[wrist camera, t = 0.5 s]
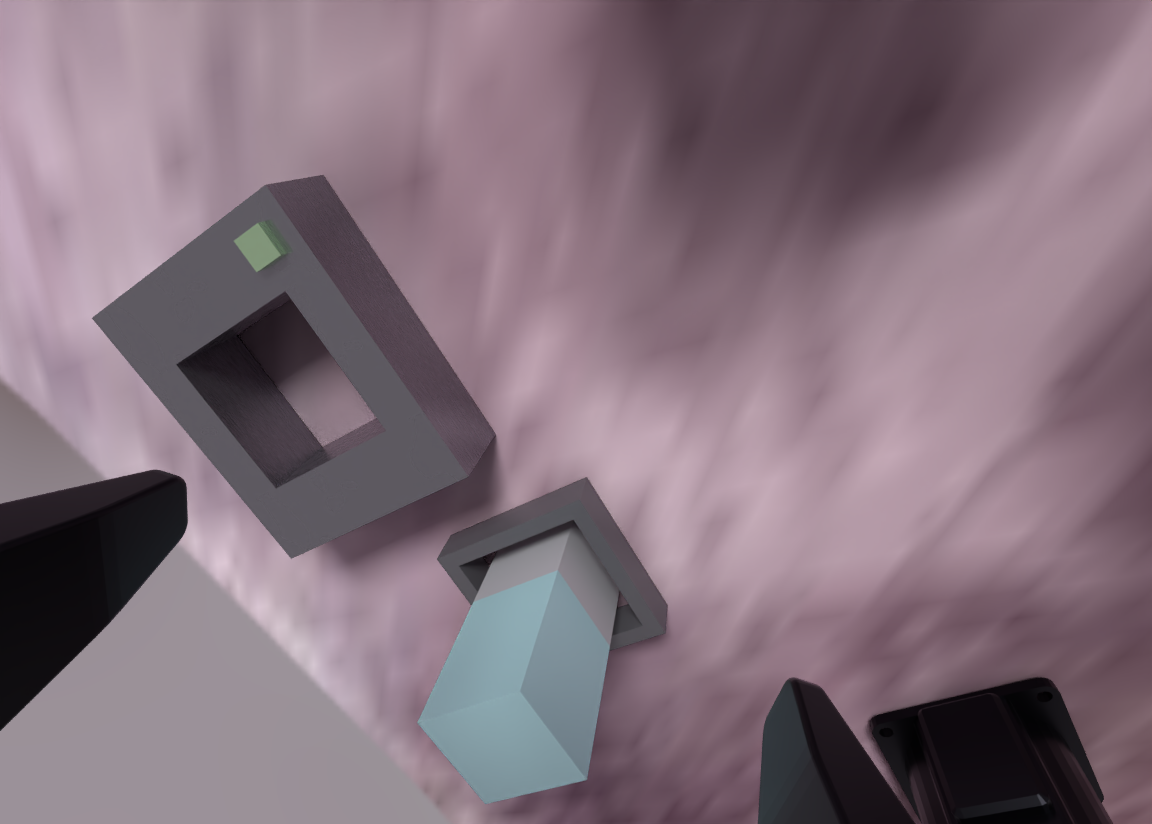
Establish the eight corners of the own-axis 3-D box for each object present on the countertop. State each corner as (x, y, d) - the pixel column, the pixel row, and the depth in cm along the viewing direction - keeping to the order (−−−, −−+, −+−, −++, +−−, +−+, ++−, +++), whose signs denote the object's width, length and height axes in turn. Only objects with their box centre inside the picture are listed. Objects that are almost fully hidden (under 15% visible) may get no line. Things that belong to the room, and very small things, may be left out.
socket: (495, 434, 23) (465, 481, 20) (333, 512, 26) (286, 564, 23) (323, 174, 20) (258, 186, 17) (162, 293, 23) (83, 320, 20)
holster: (667, 604, 25) (665, 633, 24) (533, 649, 27) (525, 677, 26) (586, 477, 23) (579, 499, 22) (450, 535, 25) (436, 558, 24)
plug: (619, 589, 25) (586, 780, 18) (544, 615, 26) (485, 804, 19) (573, 518, 24) (519, 691, 17) (497, 549, 25) (417, 722, 18)
